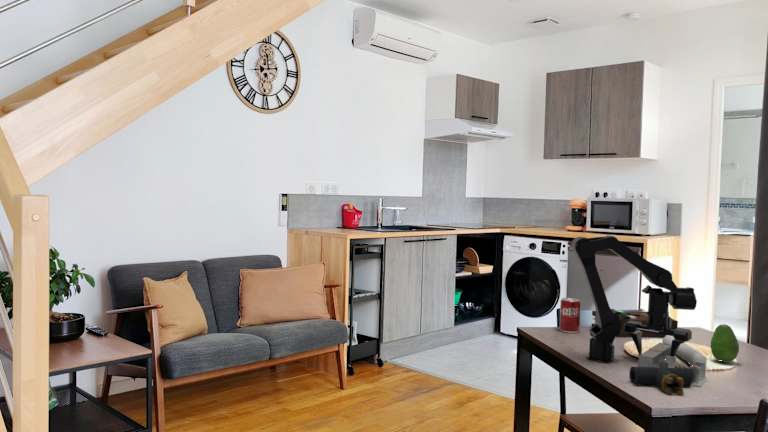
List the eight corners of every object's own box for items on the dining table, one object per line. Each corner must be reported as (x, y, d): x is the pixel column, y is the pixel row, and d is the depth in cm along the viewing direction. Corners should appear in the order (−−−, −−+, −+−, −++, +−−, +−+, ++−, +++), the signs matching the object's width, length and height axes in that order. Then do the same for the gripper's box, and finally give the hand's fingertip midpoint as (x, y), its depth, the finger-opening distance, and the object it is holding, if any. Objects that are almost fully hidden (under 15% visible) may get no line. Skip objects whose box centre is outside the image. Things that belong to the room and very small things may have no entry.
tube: (713, 357, 187) (680, 337, 211) (695, 351, 187) (665, 331, 212) (706, 374, 187) (674, 351, 212) (689, 367, 187) (659, 346, 212)
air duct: (652, 371, 183) (653, 357, 183) (638, 368, 186) (638, 354, 185) (671, 357, 200) (672, 344, 200) (658, 355, 203) (659, 342, 203)
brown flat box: (685, 319, 227) (607, 318, 225) (684, 340, 228) (606, 338, 225) (658, 309, 246) (585, 307, 244) (657, 328, 247) (584, 326, 244)
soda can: (581, 333, 230) (583, 301, 230) (562, 333, 230) (563, 300, 230) (576, 329, 237) (577, 298, 237) (557, 328, 238) (558, 297, 237)
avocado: (704, 359, 199) (706, 322, 199) (725, 358, 201) (727, 321, 200) (722, 366, 191) (724, 327, 191) (744, 365, 193) (746, 327, 193)
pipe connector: (704, 377, 162) (647, 375, 161) (704, 397, 162) (646, 395, 162) (683, 365, 173) (629, 364, 173) (682, 384, 173) (629, 382, 173)
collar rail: (657, 378, 176) (658, 359, 176) (664, 372, 183) (665, 354, 182) (699, 386, 170) (700, 367, 169) (706, 380, 176) (707, 361, 176)
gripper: (697, 309, 193) (694, 358, 193) (635, 300, 204) (632, 347, 205) (688, 314, 184) (685, 366, 185) (624, 305, 196) (621, 354, 196)
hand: (655, 358), depth 193 cm, fingers open, 9 cm apart
